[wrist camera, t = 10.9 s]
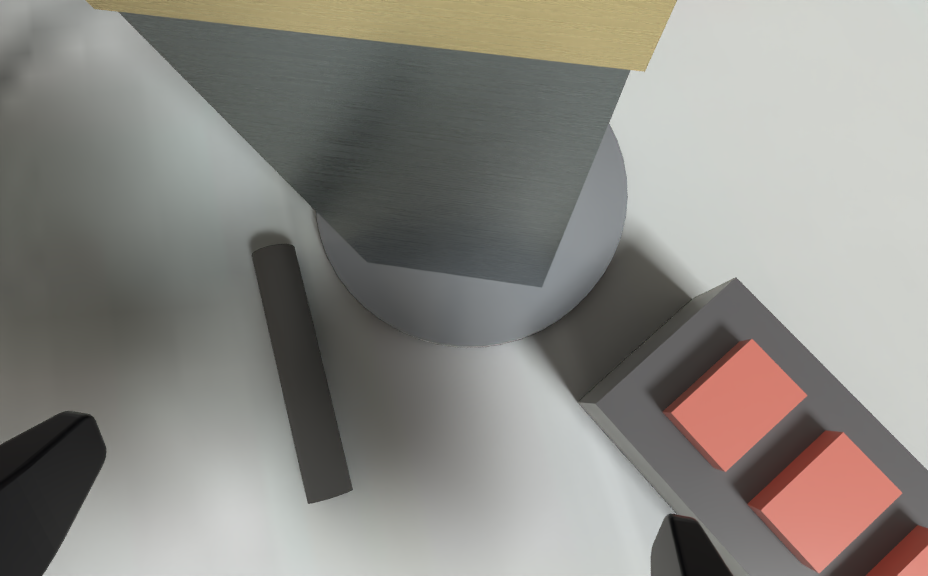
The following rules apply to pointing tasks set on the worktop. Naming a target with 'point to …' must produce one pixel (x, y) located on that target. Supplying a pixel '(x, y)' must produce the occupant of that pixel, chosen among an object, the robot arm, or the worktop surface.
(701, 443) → the gray power strip
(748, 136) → the worktop surface
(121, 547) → the worktop surface
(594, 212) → the gray disc
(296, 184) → the charcoal tea tin
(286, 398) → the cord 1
